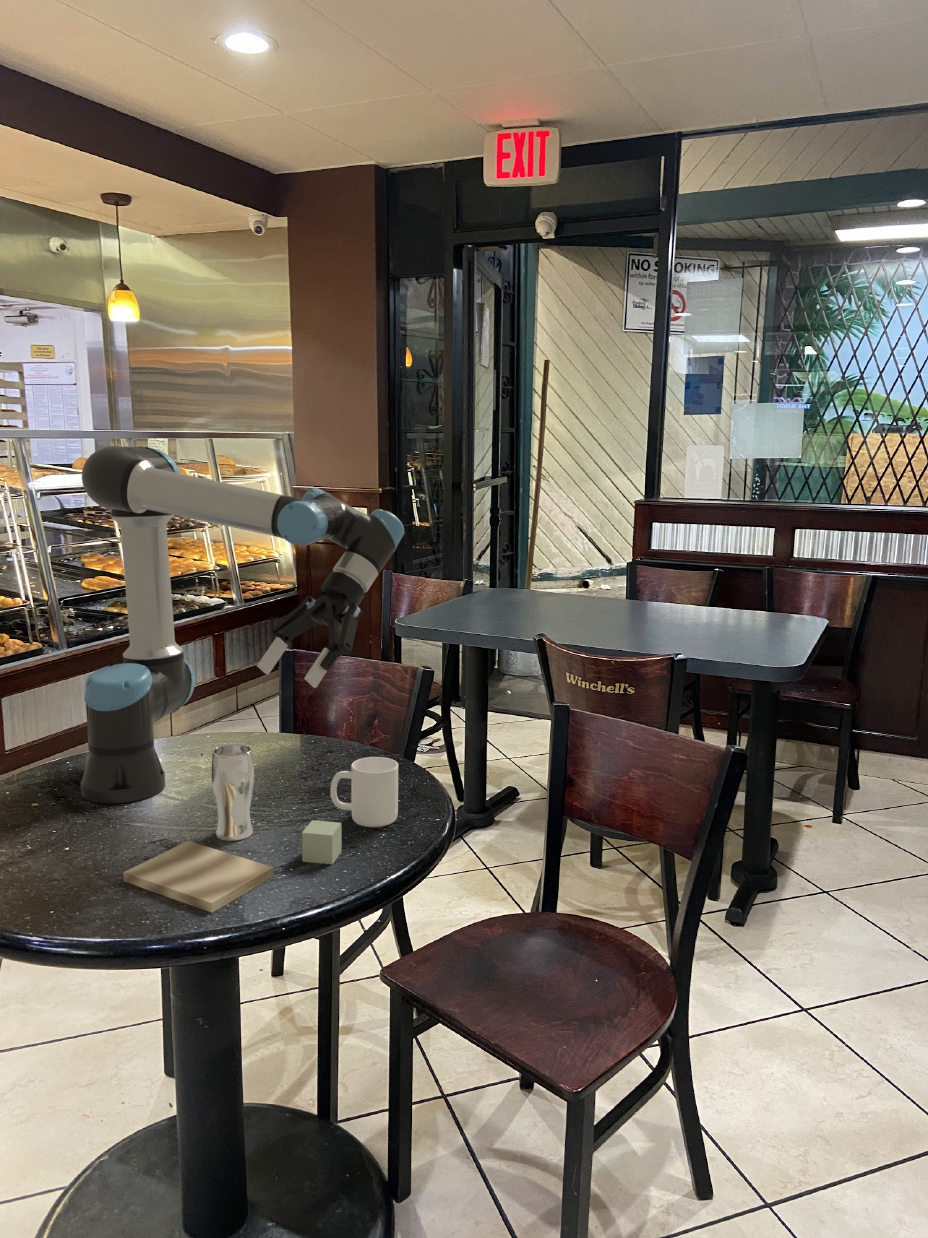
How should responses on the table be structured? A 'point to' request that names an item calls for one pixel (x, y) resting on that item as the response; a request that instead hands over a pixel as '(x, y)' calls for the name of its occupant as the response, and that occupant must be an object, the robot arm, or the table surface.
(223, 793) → the beer glass
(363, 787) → the cup
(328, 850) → the sage block
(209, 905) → the board
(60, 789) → the table surface
